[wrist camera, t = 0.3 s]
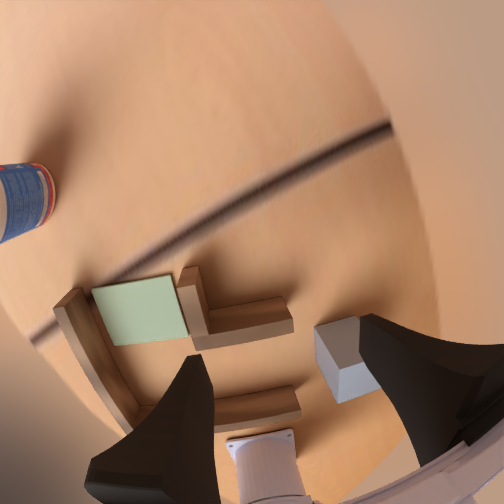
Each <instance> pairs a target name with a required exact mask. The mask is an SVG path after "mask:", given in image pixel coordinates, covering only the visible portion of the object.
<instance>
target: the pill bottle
mask: <svg viewBox="0 0 504 504" xmlns="http://www.w3.org/2000/svg"><path fill="white" fill-rule="evenodd" d="M54 205H55V185H54V181H53V178H52V176H51V174H50V173H49V171H48V170H47V169H46V168H45V167H44V166H42V165H40V164H37V163H21V164H9V165H0V245H1V244H3V243H5V242H7V241H9V240H11V239H13V238H15V237H18V236H20V235H22V234H24V233H27V232H29V231H31V230H34V229H36V228H38V227H40V226H42V225H43V224H44V223H46V222H47V220H48V219H49V218H50V216H51V214H52V211H53V209H54Z"/></svg>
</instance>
